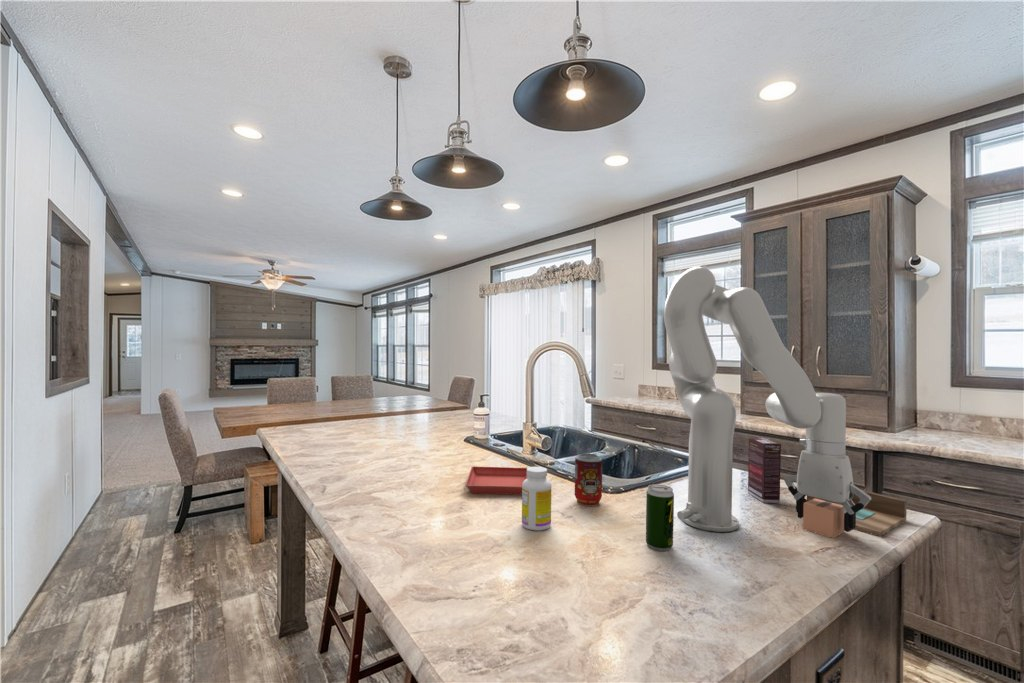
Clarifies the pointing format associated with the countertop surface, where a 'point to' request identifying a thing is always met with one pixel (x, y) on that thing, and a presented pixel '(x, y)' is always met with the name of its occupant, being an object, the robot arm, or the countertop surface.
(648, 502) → the beer can
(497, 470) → the plant saucer
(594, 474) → the soda can
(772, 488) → the supplement box
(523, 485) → the supplement bottle
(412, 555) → the countertop surface
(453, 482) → the countertop surface
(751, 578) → the countertop surface
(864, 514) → the corner board
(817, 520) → the brown box
